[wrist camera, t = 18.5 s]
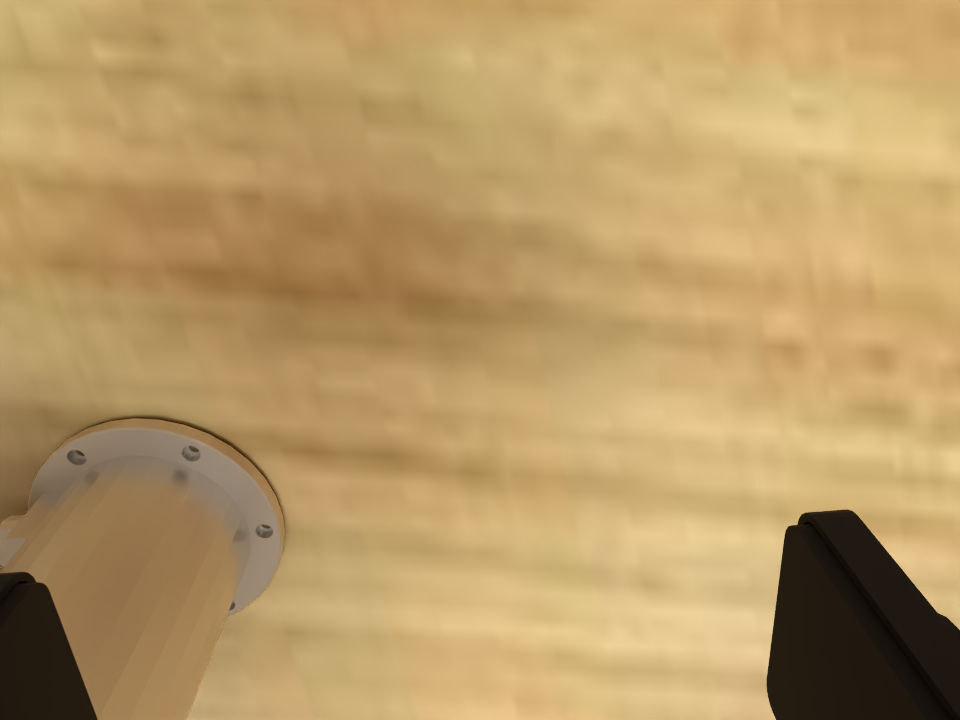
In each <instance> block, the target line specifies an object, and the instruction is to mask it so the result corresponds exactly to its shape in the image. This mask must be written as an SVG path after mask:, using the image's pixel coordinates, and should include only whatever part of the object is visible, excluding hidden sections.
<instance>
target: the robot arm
mask: <svg viewBox="0 0 960 720" xmlns="http://www.w3.org/2000/svg"><path fill="white" fill-rule="evenodd" d="M284 539H285V528H284V520H283V514H282V511H281V508H280V506H279V503H278V500H277V497H276V495H275V494H274V492H273V490H272V489H271V487H270V485H269V484H268V482H267V481H266V479H265V478H264V476H263V475H262V474H261V473H260V472H259V471H258V470H257V469H256V468H255V466H254V465H253V464H252V463H251V462H250V461H249V460H248V459H246V458H245V457H244V456H243V455H241V454H240V453H239V452H237V451H236V450H235V449H234V448H232V447H231V446H230V445H228V444H226V443H224V442H222V441H221V440H219V439H217V438H215V437H213V436H212V435H210V434H208V433H205V432H202V431H200V430H197V429H194V428H192V427H189V426H186V425H183V424H178V423H173V422H168V421H164V420H158V419H136V418H133V419H124V420H116V421H109V422H106V423H102V424H99V425H96V426H93V427H90V428H87V429H85V430H83V431H81V432H80V433H78V434H76V435H74V436H72V437H71V438H69V439H68V440H67V441H65V442H64V443H63V444H62V445H61V446H60V447H59V448H58V449H57V450H55V451H54V452H53V453H52V455H51V456H50V457H49V458H48V460H47V461H46V462H45V463H44V464H43V466H42V467H41V468H40V469H39V471H38V473H37V475H36V477H35V479H34V481H33V483H32V485H31V489H30V494H29V499H28V512H27V513H26V514H25V515H14V516H8V517H7V518H5V519H4V520H3V521H2V522H1V524H0V565H1V566H2V567H4V568H0V720H187V717H188V715H189V712H190V710H191V707H192V704H193V702H194V699H195V697H196V694H197V691H198V689H199V686H200V684H201V681H202V679H203V676H204V673H205V671H206V668H207V666H208V663H209V661H210V658H211V655H212V653H213V650H214V648H215V645H216V642H217V640H218V637H219V635H220V632H221V630H222V627H223V624H224V622H225V619H226V617H228V616H230V615H232V614H234V613H236V612H239V611H241V610H242V609H244V608H245V607H246V606H248V605H249V604H251V603H252V602H253V601H255V600H256V599H257V598H258V597H259V596H260V595H261V594H262V592H263V591H264V590H265V589H266V588H267V587H268V586H269V584H270V582H271V580H272V578H273V576H274V575H275V573H276V571H277V568H278V565H279V562H280V559H281V556H282V553H283V547H284ZM767 693H768V698H769V702H770V705H771V708H772V711H773V713H774V716H775V718H776V720H960V630H959V629H958V628H957V627H956V626H955V625H954V624H953V623H952V622H951V621H950V620H949V619H948V618H947V617H945V616H943V615H941V614H939V613H937V612H936V611H935V609H934V608H933V607H932V606H931V604H930V603H929V602H928V601H927V600H926V598H925V597H924V596H923V595H922V594H921V592H920V591H919V590H918V589H917V587H916V586H915V585H914V584H913V583H912V581H911V580H910V579H909V578H908V576H907V575H906V574H905V573H904V572H903V570H902V569H901V568H900V567H899V565H898V564H897V563H896V562H895V561H894V559H893V558H892V557H891V556H890V554H889V553H888V552H887V551H886V550H885V548H884V547H883V546H882V545H881V543H880V542H879V541H878V540H877V539H876V537H875V536H874V535H873V534H872V532H871V531H870V530H869V529H868V528H867V526H866V525H865V524H864V523H863V521H862V520H861V519H860V518H859V517H858V516H857V515H856V514H855V513H854V512H853V511H850V510H836V511H823V512H810V513H804V514H802V515H801V517H800V518H799V521H798V525H793V526H789V527H788V528H787V530H786V533H785V538H784V546H783V554H782V562H781V570H780V578H779V586H778V594H777V602H776V610H775V618H774V626H773V634H772V642H771V650H770V658H769V666H768V674H767Z"/></svg>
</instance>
